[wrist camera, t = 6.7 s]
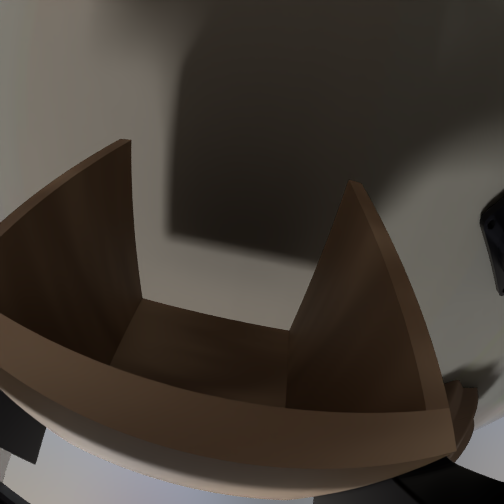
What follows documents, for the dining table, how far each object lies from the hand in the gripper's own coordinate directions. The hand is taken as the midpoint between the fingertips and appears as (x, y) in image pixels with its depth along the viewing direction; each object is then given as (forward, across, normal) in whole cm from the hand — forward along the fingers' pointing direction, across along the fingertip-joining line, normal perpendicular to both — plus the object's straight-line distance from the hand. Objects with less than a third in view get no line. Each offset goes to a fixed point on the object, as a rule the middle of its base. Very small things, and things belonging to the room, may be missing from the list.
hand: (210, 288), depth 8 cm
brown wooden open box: (+2, 0, 0) cm, 2 cm away
